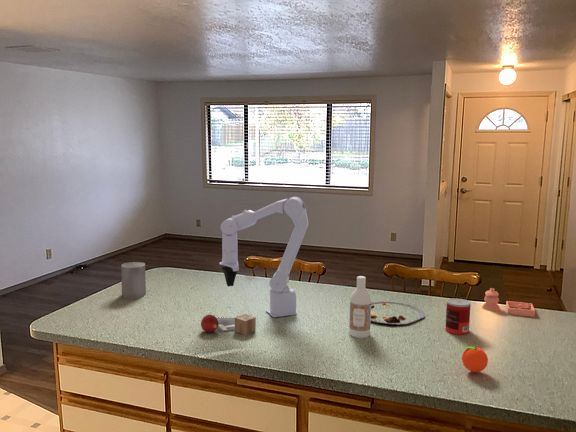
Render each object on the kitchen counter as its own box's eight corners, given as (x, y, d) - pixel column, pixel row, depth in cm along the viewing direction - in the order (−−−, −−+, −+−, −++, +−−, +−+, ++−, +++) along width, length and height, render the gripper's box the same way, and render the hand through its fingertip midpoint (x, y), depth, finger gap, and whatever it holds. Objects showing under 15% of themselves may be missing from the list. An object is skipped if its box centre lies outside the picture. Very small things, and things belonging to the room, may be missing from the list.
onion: (196, 314, 171) (207, 319, 165) (211, 311, 175) (223, 315, 168) (197, 331, 172) (208, 336, 165) (212, 327, 175) (223, 332, 169)
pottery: (531, 314, 193) (533, 289, 192) (534, 321, 185) (536, 295, 183) (481, 308, 199) (482, 284, 198) (481, 316, 190) (483, 290, 189)
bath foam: (347, 337, 167) (349, 278, 164) (351, 330, 173) (352, 273, 171) (368, 339, 165) (370, 280, 162) (371, 332, 171) (373, 275, 169)
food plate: (394, 334, 171) (394, 324, 171) (343, 316, 189) (343, 307, 188) (435, 318, 188) (435, 309, 187) (385, 303, 205) (385, 295, 205)
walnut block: (245, 313, 174) (255, 317, 170) (244, 327, 174) (255, 331, 171) (234, 317, 170) (245, 321, 167) (234, 331, 170) (245, 335, 167)
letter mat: (235, 312, 191) (235, 312, 191) (251, 327, 175) (251, 327, 174) (206, 316, 186) (206, 315, 186) (220, 332, 170) (220, 331, 170)
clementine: (456, 373, 141) (458, 349, 140) (457, 363, 147) (459, 340, 146) (487, 378, 138) (489, 353, 137) (487, 368, 144) (488, 344, 143)
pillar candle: (128, 292, 216) (127, 258, 214) (149, 293, 214) (149, 259, 212) (117, 299, 206) (116, 263, 204) (140, 300, 205) (139, 264, 203)
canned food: (468, 330, 175) (470, 299, 173) (468, 338, 167) (470, 306, 166) (445, 327, 177) (447, 297, 176) (444, 335, 170) (446, 303, 168)
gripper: (214, 247, 193) (214, 282, 194) (225, 255, 179) (225, 291, 181) (231, 246, 195) (231, 280, 197) (244, 253, 182) (244, 289, 184)
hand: (230, 285), depth 189 cm, fingers closed
